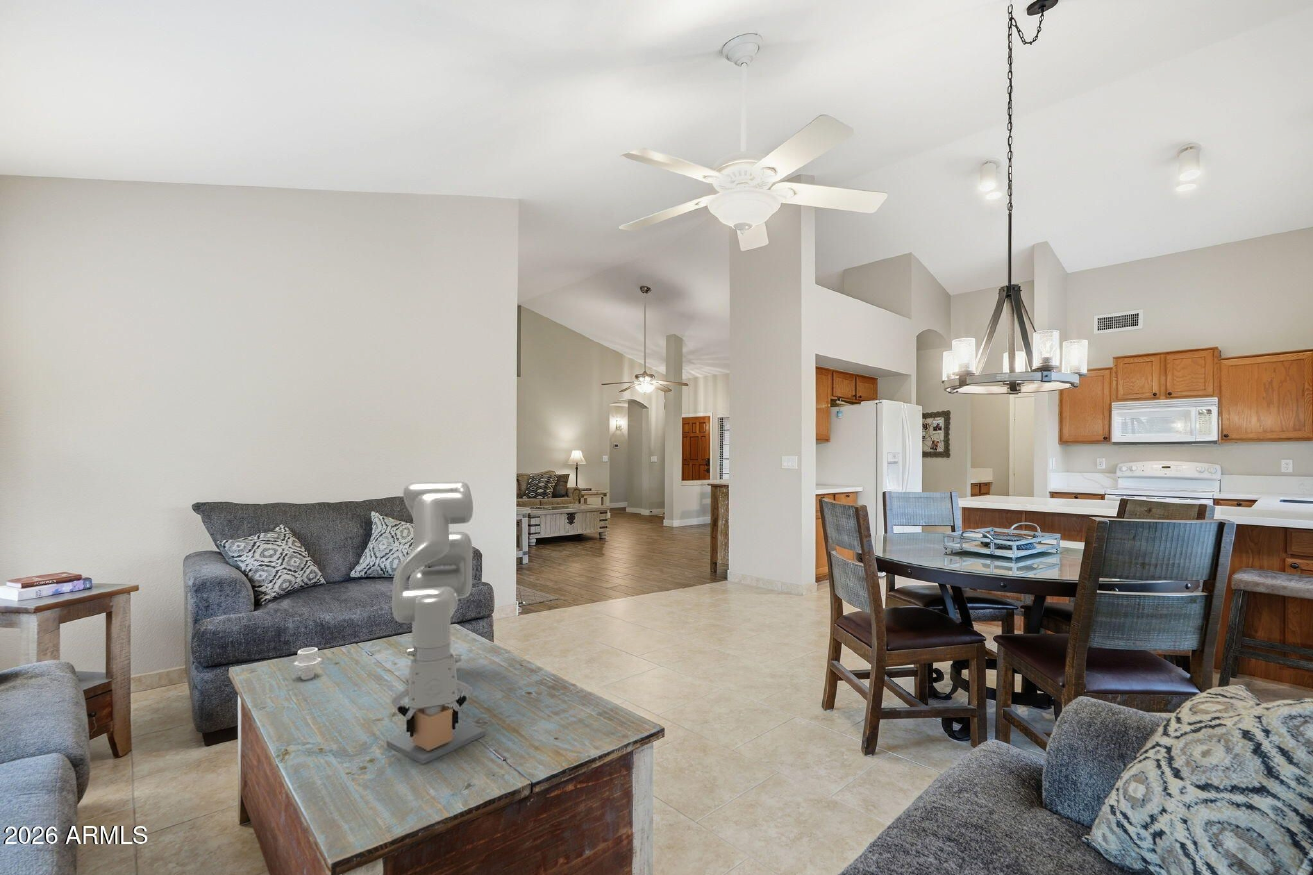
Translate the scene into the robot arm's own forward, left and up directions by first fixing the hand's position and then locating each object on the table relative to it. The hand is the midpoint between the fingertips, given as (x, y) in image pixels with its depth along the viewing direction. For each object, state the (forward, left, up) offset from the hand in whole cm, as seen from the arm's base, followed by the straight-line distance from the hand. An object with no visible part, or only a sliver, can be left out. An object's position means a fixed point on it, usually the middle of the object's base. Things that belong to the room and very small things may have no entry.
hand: (432, 730), depth 135 cm
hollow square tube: (0, 0, -2) cm, 2 cm away
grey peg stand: (-3, -3, -4) cm, 6 cm away
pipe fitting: (-4, -68, -4) cm, 68 cm away
